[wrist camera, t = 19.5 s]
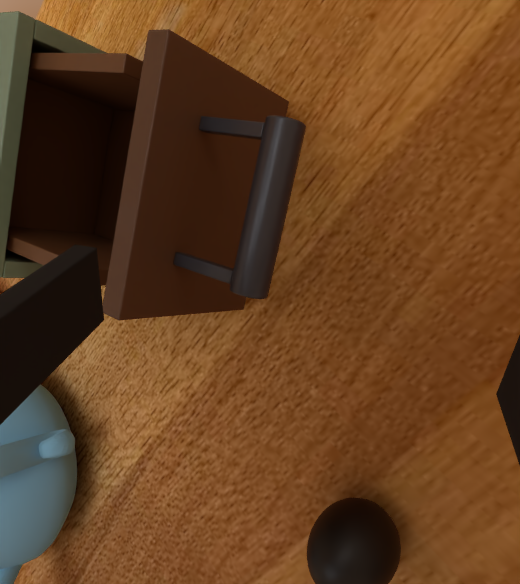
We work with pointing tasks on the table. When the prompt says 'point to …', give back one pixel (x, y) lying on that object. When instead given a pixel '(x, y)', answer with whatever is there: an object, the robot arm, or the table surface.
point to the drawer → (155, 175)
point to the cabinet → (20, 111)
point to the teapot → (34, 480)
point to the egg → (353, 544)
